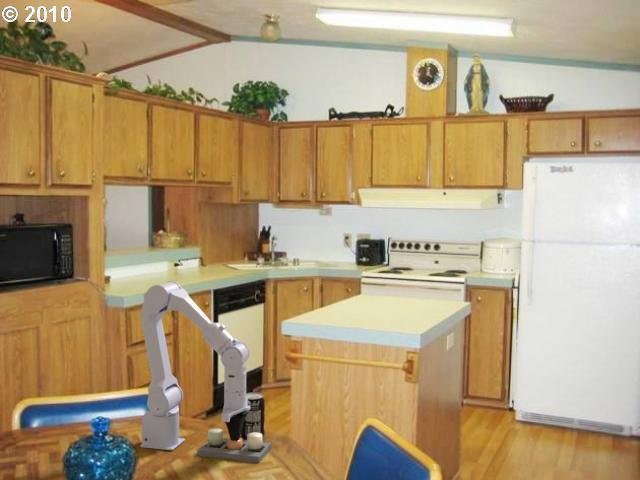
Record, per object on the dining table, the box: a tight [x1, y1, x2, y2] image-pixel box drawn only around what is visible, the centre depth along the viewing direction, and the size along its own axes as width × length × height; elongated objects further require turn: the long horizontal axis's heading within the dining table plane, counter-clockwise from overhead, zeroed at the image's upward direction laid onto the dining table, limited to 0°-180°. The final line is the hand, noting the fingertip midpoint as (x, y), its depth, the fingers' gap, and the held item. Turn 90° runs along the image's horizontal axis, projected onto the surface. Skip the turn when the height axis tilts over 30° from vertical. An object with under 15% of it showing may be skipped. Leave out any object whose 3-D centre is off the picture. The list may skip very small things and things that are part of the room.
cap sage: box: [207, 428, 224, 445], centre depth 178 cm, size 4×4×3 cm
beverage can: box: [240, 392, 266, 440], centre depth 187 cm, size 7×7×12 cm
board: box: [196, 437, 272, 464], centre depth 176 cm, size 17×10×2 cm, turn 77°
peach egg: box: [227, 437, 244, 450], centre depth 176 cm, size 4×4×3 cm
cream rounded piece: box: [247, 432, 263, 449], centre depth 175 cm, size 4×4×3 cm
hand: (235, 440), depth 176 cm, fingers closed, pressing on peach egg
